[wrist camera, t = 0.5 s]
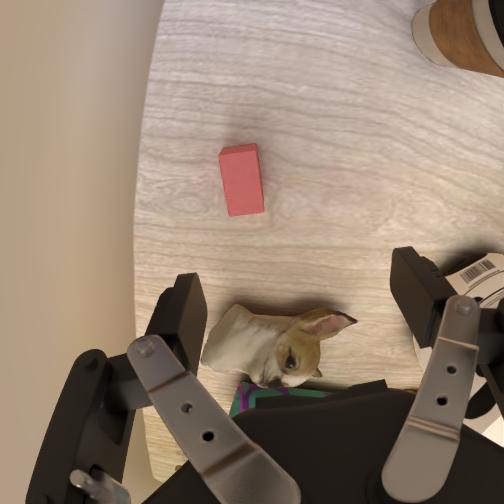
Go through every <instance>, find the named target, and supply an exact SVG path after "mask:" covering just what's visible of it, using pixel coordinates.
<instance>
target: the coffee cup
mask: <svg viewBox="0 0 504 504" xmlns="http://www.w3.org/2000/svg"><path fill="white" fill-rule="evenodd" d="M412 33H413V37H414V40H415V42H416V44H417V46H418V48H419V49H420V51H421V52H422V53H423V55H424V56H425V57H427V58H428V59H429V60H430V61H432V62H433V63H435V64H438V65H441V66H445V67H453V68H461V69H465V70H470V71H475V72H480V73H485V74H489V75H494V76H498V77H502V78H504V0H437V1H436V2H434V3H432V4H430V5H428V6H426V7H424V8H422V9H421V10H419V11H418V12H417V13H416V15H415V16H414V19H413V22H412Z"/></svg>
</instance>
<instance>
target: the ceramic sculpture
mask: <svg viewBox="0 0 504 504" xmlns="http://www.w3.org/2000/svg"><path fill="white" fill-rule="evenodd" d="M357 322H358V321H357V320H356V319H354V318H352V317H350V316H348V315H347V314H345V313H342V312H340V311H335V310H332V309H327V308H326V309H315V310H311V311H308V312H305V313H302V314H299V315H296V316H294V317H286V316H269V315H256V314H253V313H251V312H250V311H248V310H247V309H246V308H244V307H243V306H241V305H238V304H235V305H233V306H232V307H231V308H230V309H229V310H228V312H227V313H226V314H225V315H224V316H223V317H222V318H221V320H220V321H219V323H218V324H217V325H216V326H214V327H213V328H212V329H211V331H210V332H209V336H208V339H207V343H206V345H205V347H204V350H203V354H202V357H201V364H202V365H204V366H208V367H210V368H211V369H213V370H214V371H221V372H229V371H239V372H244V373H246V374H248V375H249V376H250V378H251V380H252V381H253V382H255V383H256V384H257V385H258V386H259V387H262V388H269V389H272V390H274V389H278V388H283V387H285V386H286V387H295V386H298V385H300V384H302V383H303V382H305V381H306V380H308V379H309V378H310V377H311V376H314V377H322V376H323V375H322V373H321V372H320V370H319V369H318V364H319V360H320V344H319V342H320V341H321V340H324V339H326V338H330V337H333V336H335V335H336V334H338V332H340V331H341V330H342V329H343V328H345V327H347V326H349V325H352V324H355V323H357Z"/></svg>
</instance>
